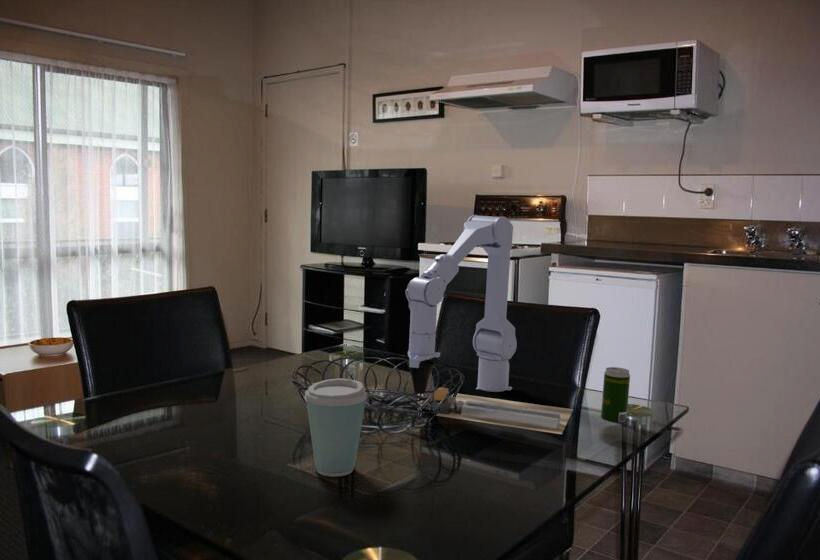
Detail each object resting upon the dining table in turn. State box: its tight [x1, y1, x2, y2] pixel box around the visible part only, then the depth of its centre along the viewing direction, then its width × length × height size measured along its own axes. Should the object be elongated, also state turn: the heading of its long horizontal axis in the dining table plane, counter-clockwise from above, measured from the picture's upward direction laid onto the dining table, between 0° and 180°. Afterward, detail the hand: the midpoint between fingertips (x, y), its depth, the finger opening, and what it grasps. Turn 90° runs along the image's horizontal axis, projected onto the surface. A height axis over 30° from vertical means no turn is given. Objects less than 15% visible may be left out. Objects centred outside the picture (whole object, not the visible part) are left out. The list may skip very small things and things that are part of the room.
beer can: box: [600, 366, 631, 423], centre depth 155 cm, size 5×5×12 cm
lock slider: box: [433, 387, 449, 401], centre depth 156 cm, size 4×2×2 cm, turn 160°
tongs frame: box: [432, 395, 559, 430], centre depth 152 cm, size 6×27×2 cm, turn 70°
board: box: [436, 393, 574, 435], centre depth 157 cm, size 19×28×1 cm
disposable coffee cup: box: [304, 378, 368, 478], centre depth 121 cm, size 11×11×15 cm
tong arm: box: [454, 400, 561, 424], centre depth 152 cm, size 3×22×2 cm, turn 72°
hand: (419, 392), depth 157 cm, fingers closed
